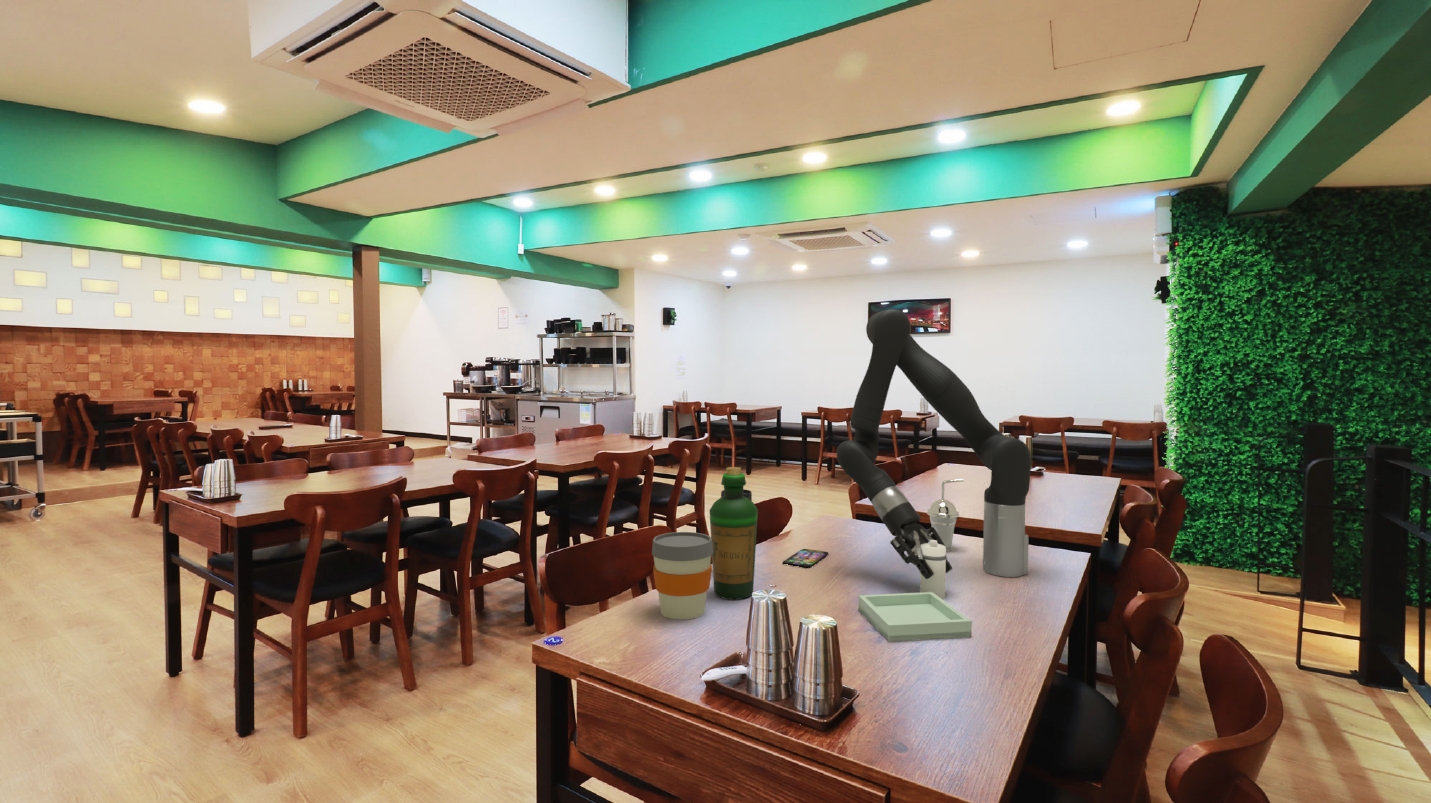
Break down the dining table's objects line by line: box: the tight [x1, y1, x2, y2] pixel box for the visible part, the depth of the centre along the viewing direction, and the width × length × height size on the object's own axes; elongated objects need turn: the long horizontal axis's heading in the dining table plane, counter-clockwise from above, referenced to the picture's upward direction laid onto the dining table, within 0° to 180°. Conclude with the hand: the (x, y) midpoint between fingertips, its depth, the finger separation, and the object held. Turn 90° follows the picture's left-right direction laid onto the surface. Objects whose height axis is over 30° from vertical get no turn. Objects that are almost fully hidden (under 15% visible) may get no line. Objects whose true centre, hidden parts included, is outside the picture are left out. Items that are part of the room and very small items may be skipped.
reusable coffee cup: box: [651, 531, 713, 621], centre depth 134 cm, size 13×13×15 cm
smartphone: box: [782, 548, 829, 569], centre depth 171 cm, size 8×1×15 cm
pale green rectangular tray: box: [858, 592, 973, 643], centre depth 128 cm, size 16×16×3 cm
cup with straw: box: [926, 478, 964, 552], centre depth 180 cm, size 8×9×20 cm
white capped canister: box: [919, 540, 948, 600], centre depth 143 cm, size 6×6×12 cm
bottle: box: [709, 466, 759, 600], centre depth 144 cm, size 11×11×28 cm
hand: (939, 573), depth 141 cm, fingers open, 6 cm apart
